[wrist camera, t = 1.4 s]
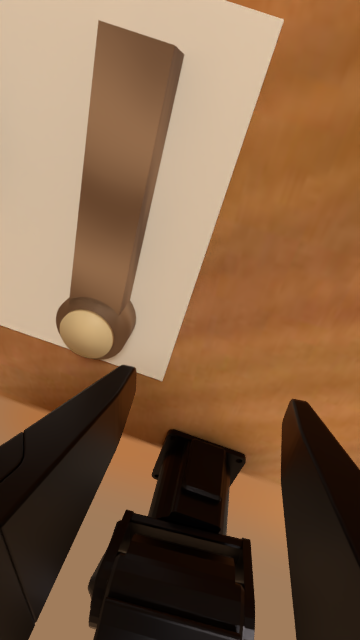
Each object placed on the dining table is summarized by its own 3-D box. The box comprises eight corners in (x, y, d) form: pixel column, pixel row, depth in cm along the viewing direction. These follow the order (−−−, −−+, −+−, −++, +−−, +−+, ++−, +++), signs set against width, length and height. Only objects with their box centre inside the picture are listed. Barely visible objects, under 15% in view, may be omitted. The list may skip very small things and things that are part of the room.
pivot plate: (163, 376, 24) (152, 410, 21) (-120, 278, 24) (-168, 298, 22) (283, 22, 13) (291, -4, 11) (-225, -143, 14) (-346, -210, 11)
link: (129, 350, 23) (119, 368, 21) (68, 329, 23) (53, 345, 21) (200, 59, 14) (193, 50, 12) (101, 27, 14) (80, 14, 12)
